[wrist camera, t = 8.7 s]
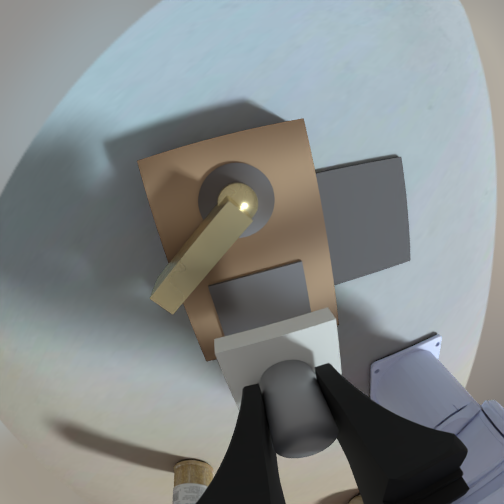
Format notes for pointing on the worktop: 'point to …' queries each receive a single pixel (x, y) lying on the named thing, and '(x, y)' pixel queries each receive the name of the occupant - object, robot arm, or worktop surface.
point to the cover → (286, 378)
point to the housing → (257, 233)
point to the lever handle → (206, 246)
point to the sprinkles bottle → (191, 481)
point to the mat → (365, 217)
